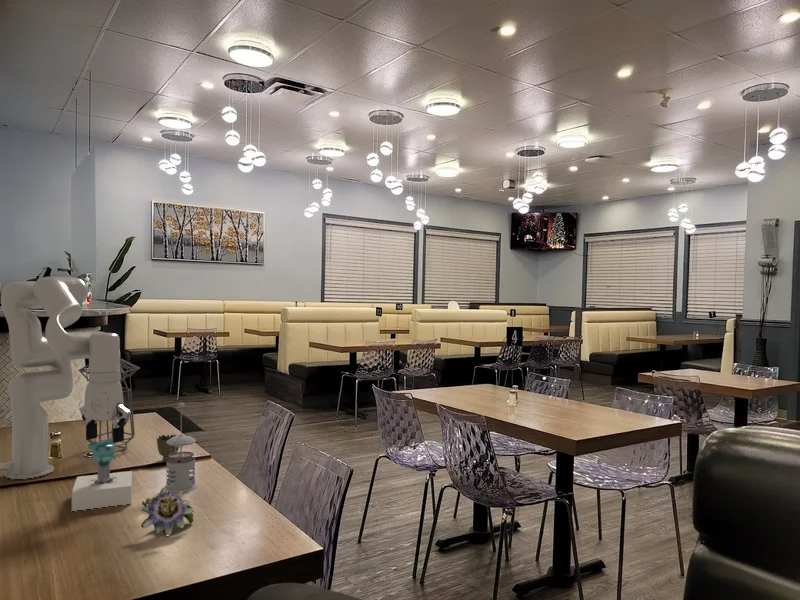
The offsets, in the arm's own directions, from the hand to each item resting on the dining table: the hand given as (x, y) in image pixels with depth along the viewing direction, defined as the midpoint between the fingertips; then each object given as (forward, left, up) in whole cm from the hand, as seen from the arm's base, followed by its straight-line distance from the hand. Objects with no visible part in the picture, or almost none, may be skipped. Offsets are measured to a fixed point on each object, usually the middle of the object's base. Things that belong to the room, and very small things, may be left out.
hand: (104, 440), depth 158 cm
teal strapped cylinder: (0, 0, -16) cm, 16 cm away
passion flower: (+15, -28, -17) cm, 35 cm away
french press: (+20, +3, -17) cm, 26 cm away
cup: (+18, +33, -17) cm, 41 cm away
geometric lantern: (-1, +53, -17) cm, 56 cm away
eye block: (0, 0, -16) cm, 16 cm away
